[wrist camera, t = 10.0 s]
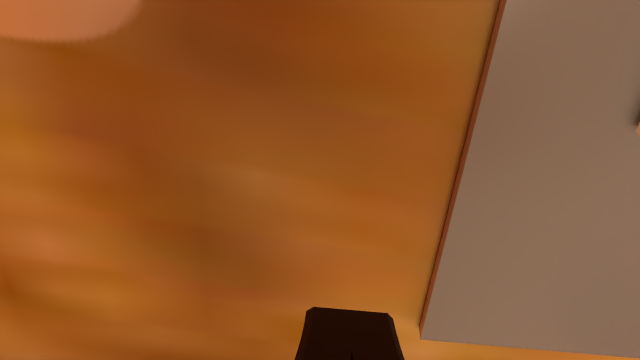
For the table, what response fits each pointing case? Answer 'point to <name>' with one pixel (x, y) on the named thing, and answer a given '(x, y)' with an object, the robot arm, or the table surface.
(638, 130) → the tile
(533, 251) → the slate board
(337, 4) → the table surface
